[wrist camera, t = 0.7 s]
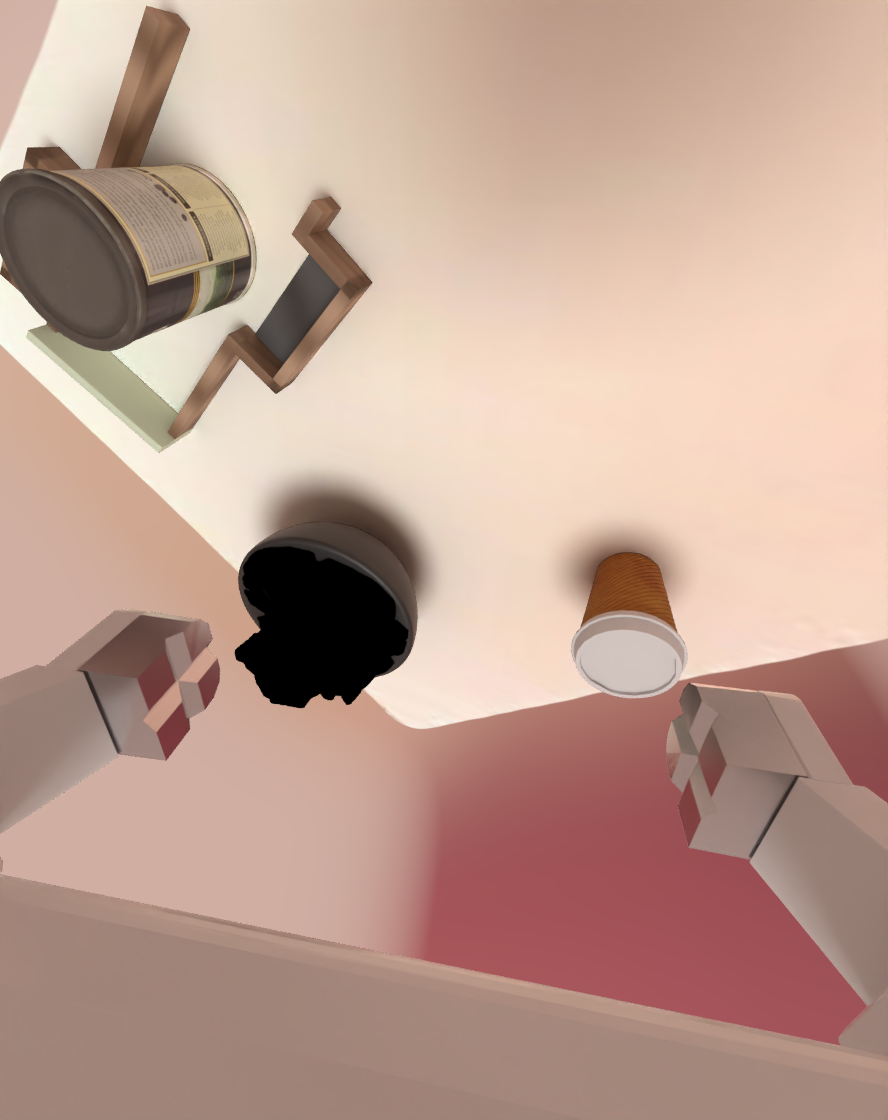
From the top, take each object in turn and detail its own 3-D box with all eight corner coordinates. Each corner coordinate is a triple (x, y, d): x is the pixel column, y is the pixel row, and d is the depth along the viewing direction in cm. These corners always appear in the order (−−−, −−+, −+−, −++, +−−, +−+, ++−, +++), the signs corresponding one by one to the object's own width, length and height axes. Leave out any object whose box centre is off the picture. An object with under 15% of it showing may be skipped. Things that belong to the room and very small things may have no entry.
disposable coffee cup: (564, 556, 53) (550, 640, 44) (657, 525, 48) (662, 613, 39) (603, 619, 57) (598, 708, 48) (693, 597, 52) (705, 692, 43)
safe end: (71, 316, 52) (28, 330, 48) (193, 427, 57) (162, 447, 53) (69, 323, 53) (26, 337, 49) (189, 432, 57) (158, 453, 53)
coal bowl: (266, 562, 67) (169, 673, 53) (315, 451, 54) (203, 560, 40) (395, 641, 70) (335, 767, 56) (472, 554, 57) (418, 690, 43)
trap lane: (113, -62, 33) (76, -77, 31) (387, 263, 41) (373, 270, 38) (26, 275, 51) (-2, 281, 48) (229, 460, 58) (213, 473, 56)
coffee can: (262, 317, 46) (153, 369, 36) (160, 288, 47) (26, 330, 37) (253, 178, 40) (116, 191, 29) (135, 148, 41) (-39, 150, 30)
